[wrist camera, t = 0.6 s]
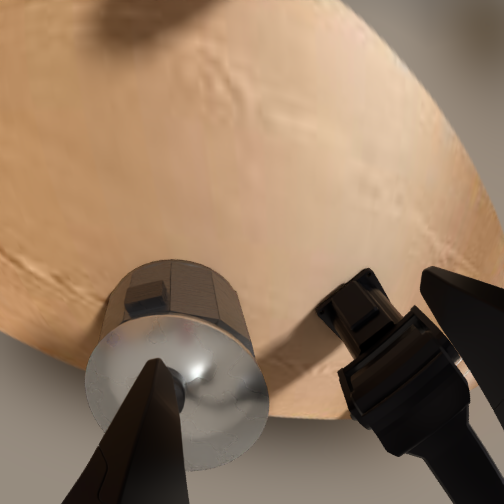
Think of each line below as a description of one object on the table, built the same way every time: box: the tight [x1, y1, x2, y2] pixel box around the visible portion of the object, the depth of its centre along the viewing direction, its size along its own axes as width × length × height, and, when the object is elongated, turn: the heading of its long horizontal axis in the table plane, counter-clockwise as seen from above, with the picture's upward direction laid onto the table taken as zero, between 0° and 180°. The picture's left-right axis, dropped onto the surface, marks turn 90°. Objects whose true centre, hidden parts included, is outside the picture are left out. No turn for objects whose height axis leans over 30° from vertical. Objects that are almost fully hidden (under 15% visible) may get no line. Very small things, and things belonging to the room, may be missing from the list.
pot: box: [98, 259, 256, 360], centre depth 21 cm, size 12×11×6 cm
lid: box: [85, 312, 269, 471], centre depth 14 cm, size 11×11×3 cm
